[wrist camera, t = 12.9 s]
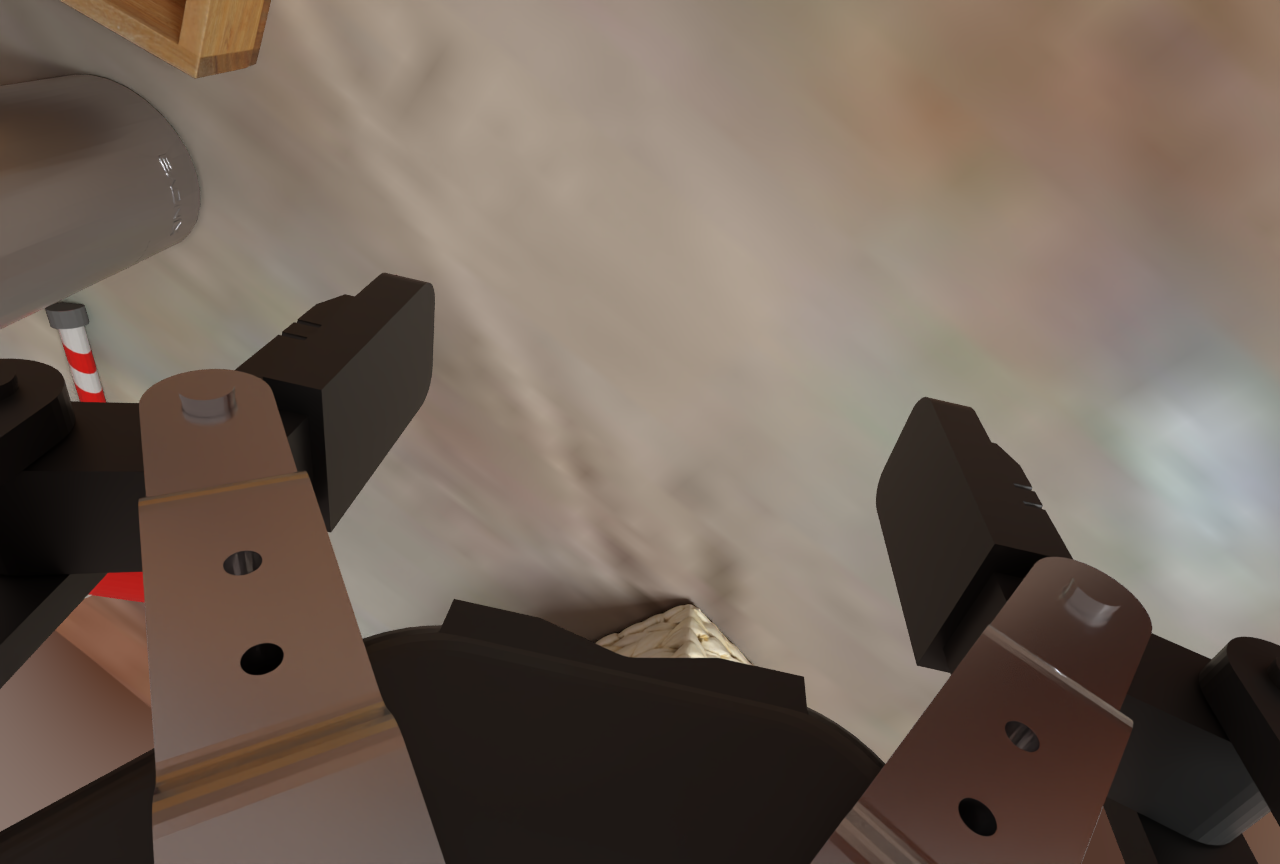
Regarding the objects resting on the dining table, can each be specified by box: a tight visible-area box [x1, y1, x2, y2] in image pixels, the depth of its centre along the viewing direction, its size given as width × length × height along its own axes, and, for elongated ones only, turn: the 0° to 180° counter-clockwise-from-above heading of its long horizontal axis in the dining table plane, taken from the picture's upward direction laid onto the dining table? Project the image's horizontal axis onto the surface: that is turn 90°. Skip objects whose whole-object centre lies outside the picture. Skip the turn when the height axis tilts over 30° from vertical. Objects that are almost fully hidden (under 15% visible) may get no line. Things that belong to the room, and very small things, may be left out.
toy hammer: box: [45, 302, 145, 602], centre depth 48 cm, size 23×12×6 cm, turn 177°
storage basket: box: [595, 604, 754, 666], centre depth 53 cm, size 24×16×15 cm
